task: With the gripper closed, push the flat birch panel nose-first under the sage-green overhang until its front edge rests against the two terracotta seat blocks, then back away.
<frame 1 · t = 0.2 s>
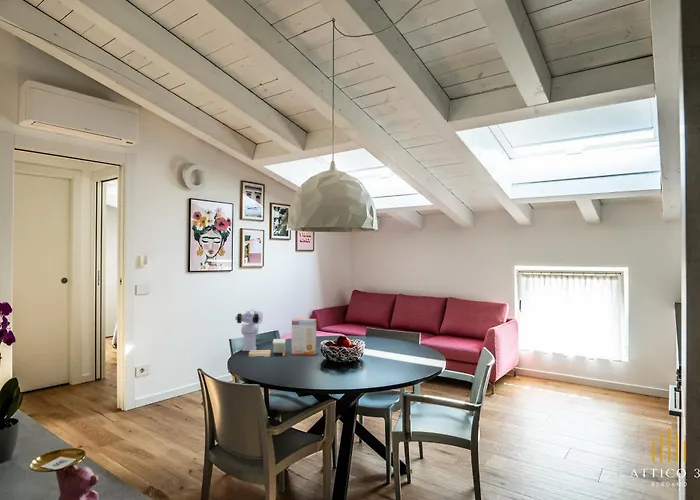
hand: (246, 319, 249), 21 cm above the table, tool horizontal, fingers open, 7 cm apart
cracker box: (303, 354, 258), on the table
panel: (259, 355, 254), on the table
overhang: (278, 354, 256), on the table
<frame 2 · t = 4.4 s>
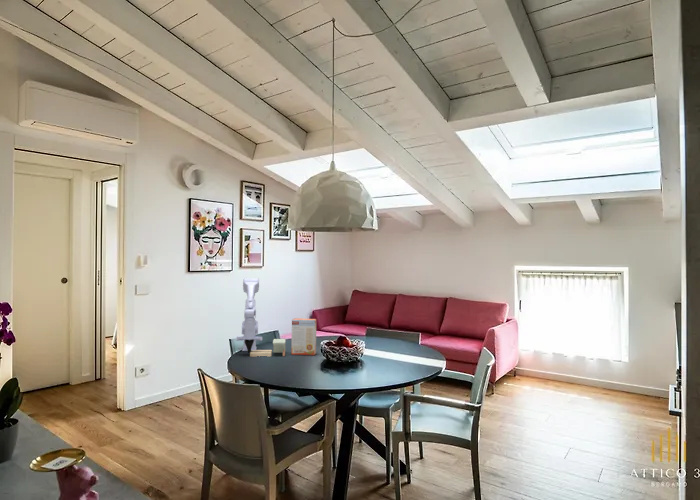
hand: (249, 352, 253), 1 cm above the table, tool pointing down, fingers closed
panel: (261, 355, 254), on the table, touching gripper
everything else where it was.
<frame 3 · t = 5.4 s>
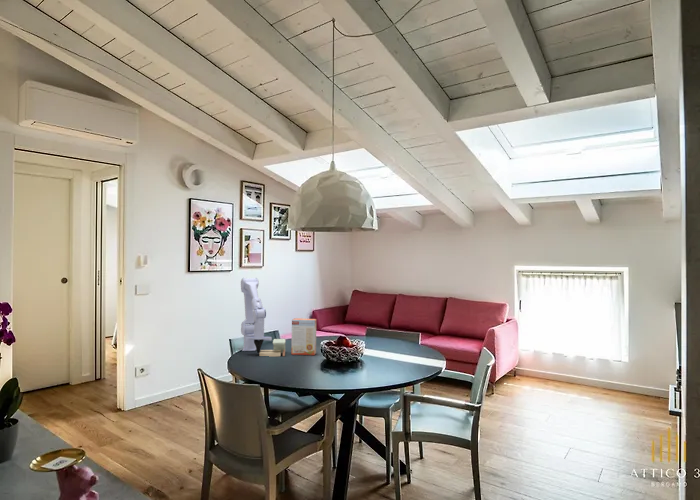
hand: (258, 352, 254), 1 cm above the table, tool pointing down, fingers closed
panel: (270, 355, 255), on the table, touching gripper
everything else where it was.
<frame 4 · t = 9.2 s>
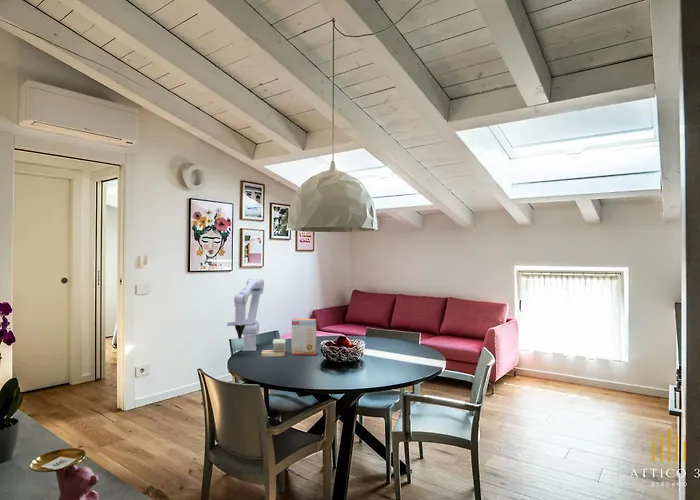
hand: (239, 338, 251), 10 cm above the table, tool pointing down, fingers closed
panel: (272, 355, 255), on the table
everything else where it was.
at the end: panel 0.3 cm from the target spot, on the table; panel tilted 0° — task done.
